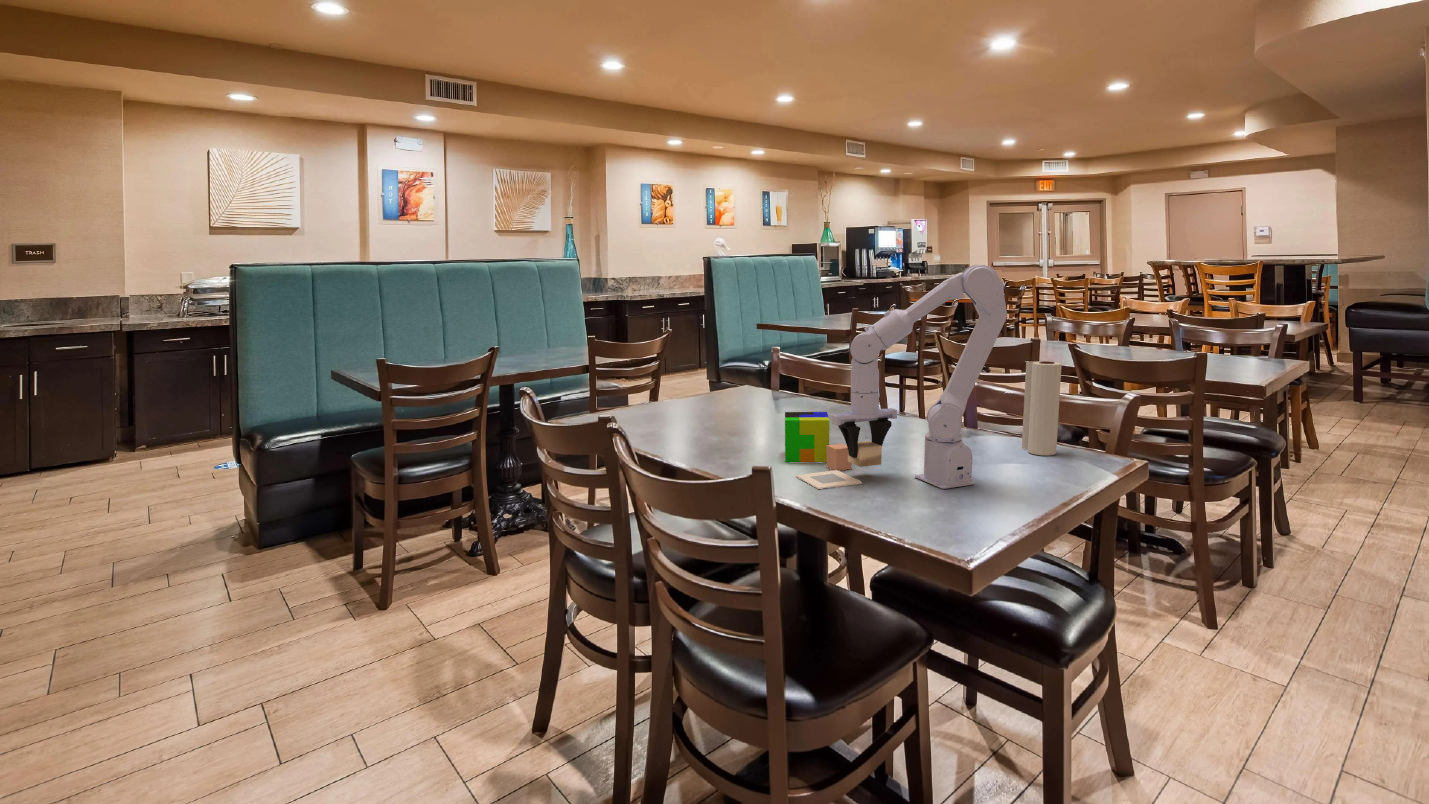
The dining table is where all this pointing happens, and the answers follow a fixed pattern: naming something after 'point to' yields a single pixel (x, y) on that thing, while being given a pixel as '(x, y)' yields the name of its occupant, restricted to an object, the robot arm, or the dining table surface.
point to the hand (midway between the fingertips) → (864, 455)
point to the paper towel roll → (1041, 407)
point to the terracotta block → (838, 457)
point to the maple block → (867, 454)
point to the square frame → (828, 479)
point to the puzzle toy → (806, 436)
